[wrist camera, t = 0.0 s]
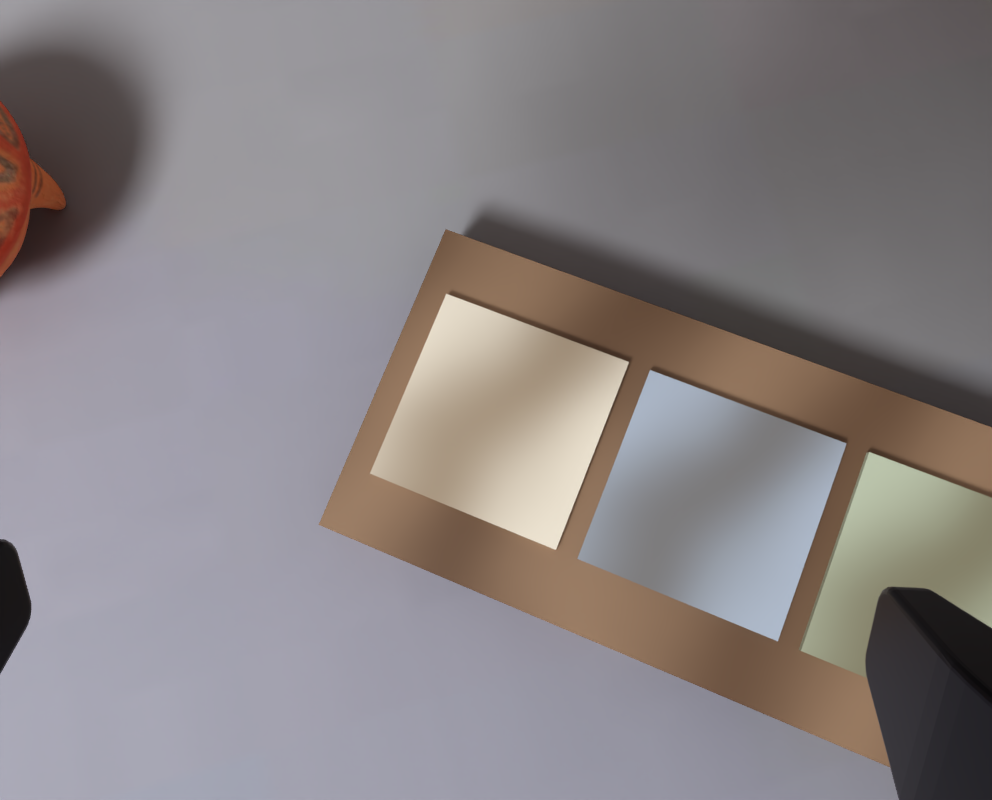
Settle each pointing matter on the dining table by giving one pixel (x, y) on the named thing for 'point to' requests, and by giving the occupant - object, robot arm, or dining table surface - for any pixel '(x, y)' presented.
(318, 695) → the dining table surface
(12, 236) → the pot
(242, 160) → the dining table surface
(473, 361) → the game board
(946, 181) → the dining table surface
